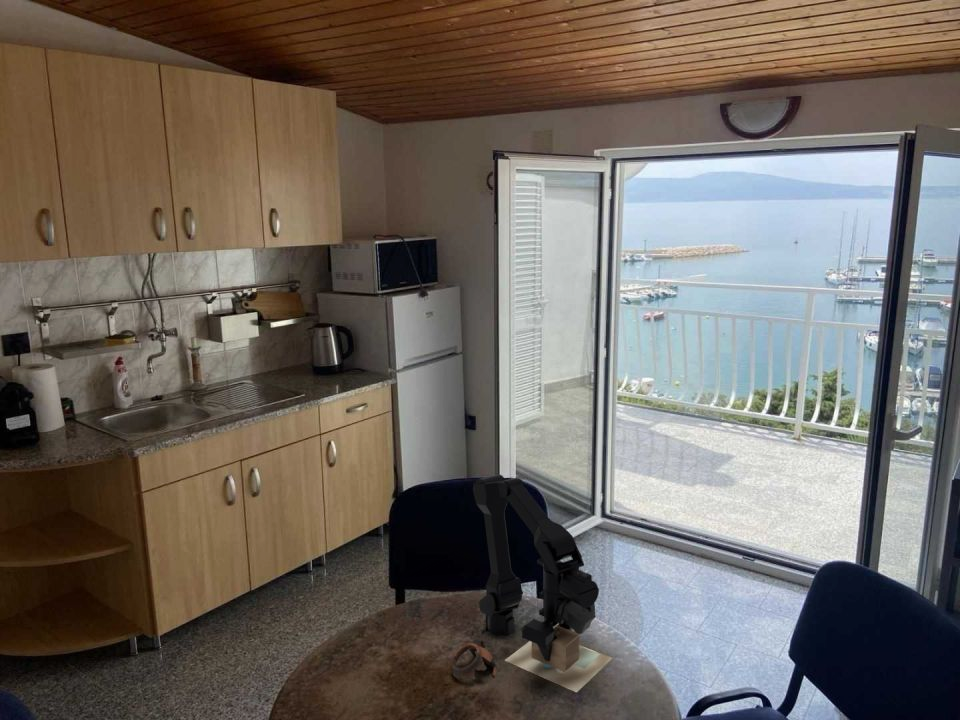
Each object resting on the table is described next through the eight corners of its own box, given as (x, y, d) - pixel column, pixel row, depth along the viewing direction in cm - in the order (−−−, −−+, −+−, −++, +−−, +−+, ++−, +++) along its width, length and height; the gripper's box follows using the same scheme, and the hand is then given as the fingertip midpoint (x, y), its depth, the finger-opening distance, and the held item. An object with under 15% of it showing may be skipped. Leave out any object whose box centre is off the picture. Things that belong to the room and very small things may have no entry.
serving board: (504, 664, 161) (504, 660, 161) (543, 634, 174) (543, 630, 174) (576, 696, 150) (576, 692, 149) (612, 662, 162) (612, 657, 162)
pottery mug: (500, 691, 153) (482, 665, 150) (462, 704, 155) (444, 679, 152) (502, 647, 164) (485, 623, 161) (466, 660, 166) (449, 636, 163)
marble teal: (538, 667, 158) (538, 655, 158) (546, 661, 161) (546, 649, 160) (550, 672, 157) (550, 660, 156) (557, 666, 159) (557, 653, 158)
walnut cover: (531, 657, 157) (531, 628, 156) (546, 645, 162) (547, 617, 161) (564, 672, 152) (565, 642, 151) (579, 658, 157) (579, 629, 156)
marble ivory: (552, 673, 156) (552, 661, 156) (559, 667, 158) (559, 654, 158) (563, 678, 154) (564, 665, 154) (571, 672, 157) (571, 659, 156)
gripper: (565, 617, 142) (564, 688, 145) (609, 583, 157) (607, 648, 159) (520, 600, 149) (519, 668, 151) (566, 569, 163) (565, 631, 166)
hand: (555, 654), depth 157 cm, fingers closed on walnut cover, 6 cm apart
